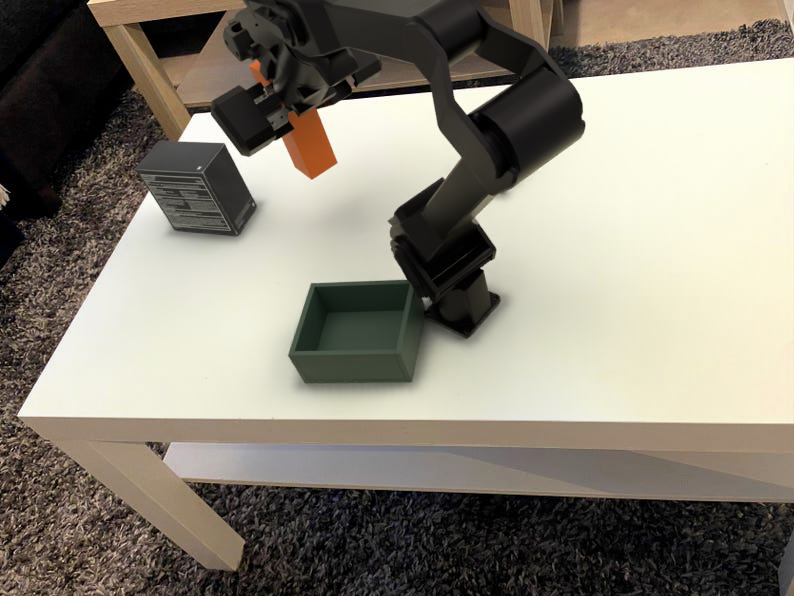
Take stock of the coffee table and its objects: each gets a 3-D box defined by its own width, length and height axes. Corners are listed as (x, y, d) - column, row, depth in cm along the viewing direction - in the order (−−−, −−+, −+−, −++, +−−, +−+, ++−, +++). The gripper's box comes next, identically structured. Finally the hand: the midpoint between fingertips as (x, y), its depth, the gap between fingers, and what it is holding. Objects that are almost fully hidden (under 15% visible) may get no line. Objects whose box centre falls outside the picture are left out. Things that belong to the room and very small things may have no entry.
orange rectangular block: (338, 163, 91) (296, 58, 80) (311, 180, 89) (266, 76, 78) (320, 151, 93) (278, 48, 82) (295, 167, 92) (248, 65, 81)
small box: (260, 203, 100) (227, 140, 92) (239, 237, 97) (202, 173, 89) (195, 199, 103) (157, 137, 95) (172, 231, 100) (131, 169, 92)
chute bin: (426, 308, 84) (415, 278, 80) (412, 382, 78) (400, 353, 74) (325, 311, 86) (310, 282, 82) (304, 383, 80) (287, 355, 76)
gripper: (332, -56, 74) (312, 20, 88) (172, 31, 68) (179, 96, 83) (399, 40, 75) (368, 99, 90) (248, 133, 70) (242, 179, 84)
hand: (291, 116), depth 87 cm, fingers closed on orange rectangular block, 4 cm apart
